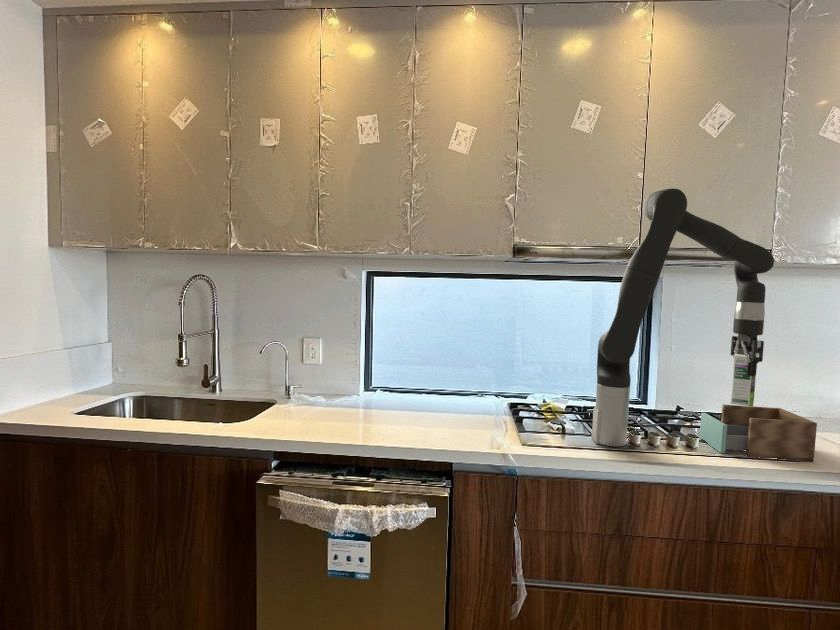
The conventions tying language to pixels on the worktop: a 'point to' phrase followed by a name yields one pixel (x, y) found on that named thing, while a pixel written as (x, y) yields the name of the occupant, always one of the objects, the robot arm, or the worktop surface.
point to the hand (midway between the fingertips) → (744, 373)
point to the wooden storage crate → (773, 432)
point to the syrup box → (742, 382)
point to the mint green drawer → (723, 434)
